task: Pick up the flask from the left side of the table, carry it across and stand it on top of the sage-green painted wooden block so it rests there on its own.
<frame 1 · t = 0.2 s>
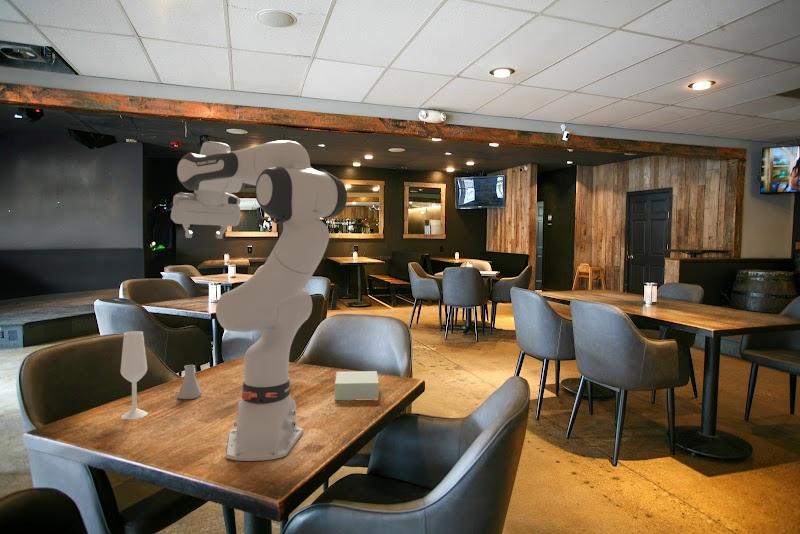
hand: (203, 237, 147), 51 cm above the table, tool tilted 20°, fingers open, 8 cm apart
sage block: (356, 394, 158), on the table
flask: (189, 397, 152), on the table
champagne flute: (134, 415, 135), on the table
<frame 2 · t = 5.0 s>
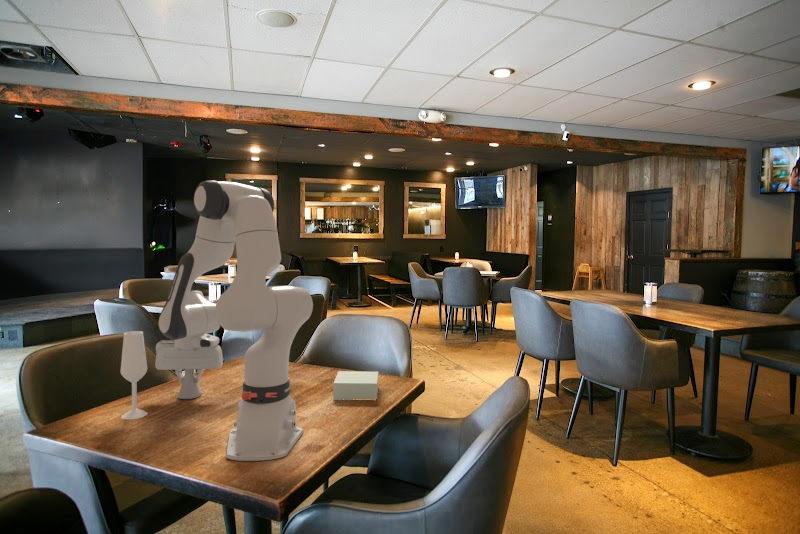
hand: (189, 382, 152), 5 cm above the table, tool pointing down, fingers closed on flask, 3 cm apart
flask: (189, 397, 152), on the table, touching gripper
everything else where it was.
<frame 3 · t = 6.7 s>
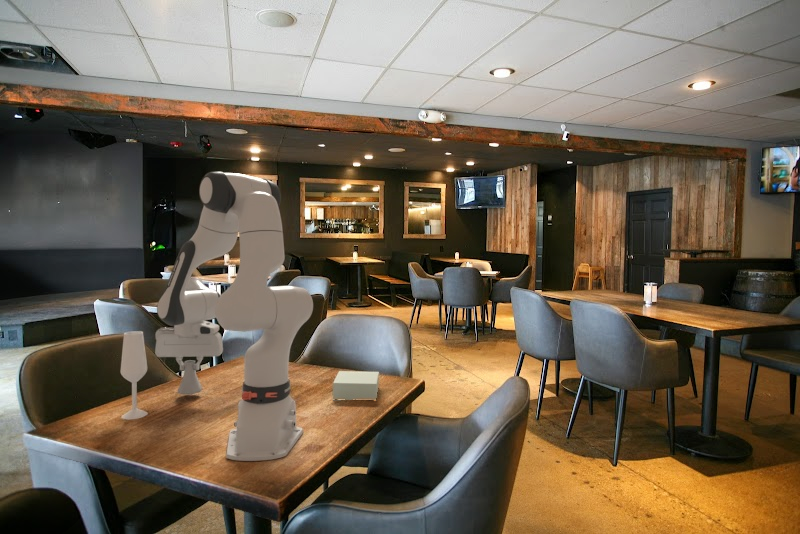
hand: (189, 369, 151), 9 cm above the table, tool pointing down, fingers closed on flask, 3 cm apart
flask: (189, 392, 152), point 1 cm above the table, touching gripper
everything else where it was.
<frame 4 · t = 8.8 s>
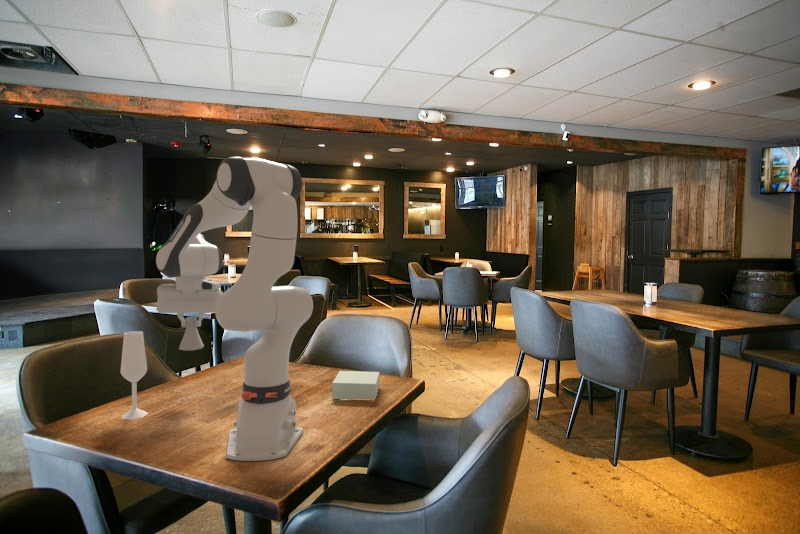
hand: (191, 326, 151), 23 cm above the table, tool pointing down, fingers closed on flask, 3 cm apart
flask: (191, 349, 151), point 15 cm above the table, touching gripper
everything else where it was.
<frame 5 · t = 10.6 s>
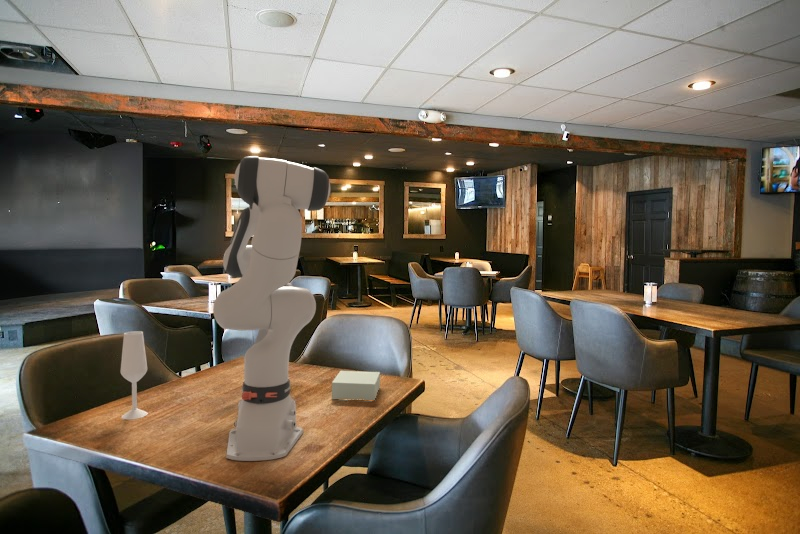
hand: (264, 326, 153), 23 cm above the table, tool pointing down, fingers closed on flask, 3 cm apart
flask: (264, 349, 153), point 15 cm above the table, touching gripper
everything else where it was.
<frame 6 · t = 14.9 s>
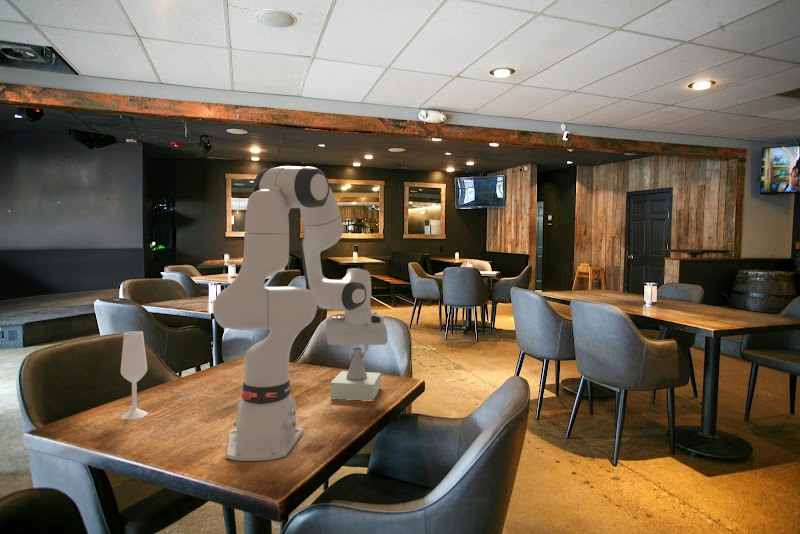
hand: (357, 357, 157), 12 cm above the table, tool pointing down, fingers closed on flask, 2 cm apart
sage block: (356, 395, 158), on the table, touching flask
flask: (356, 378, 157), point 5 cm above the table, touching gripper, sage block
everything else where it was.
when the fingers open (12 cm above the table, at t = 15.0 s): flask stays where it is, resting on sage block.
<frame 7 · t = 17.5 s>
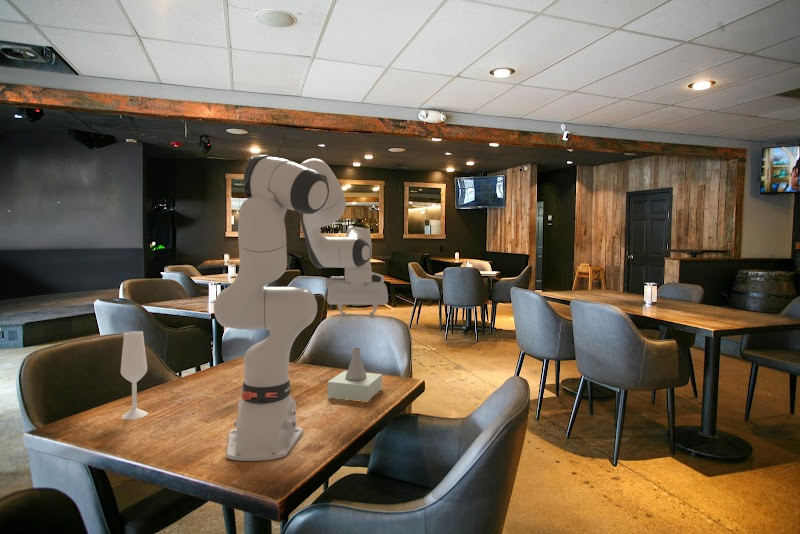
hand: (357, 317, 156), 26 cm above the table, tool pointing down, fingers open, 8 cm apart
flask: (355, 378, 157), point 5 cm above the table, touching sage block
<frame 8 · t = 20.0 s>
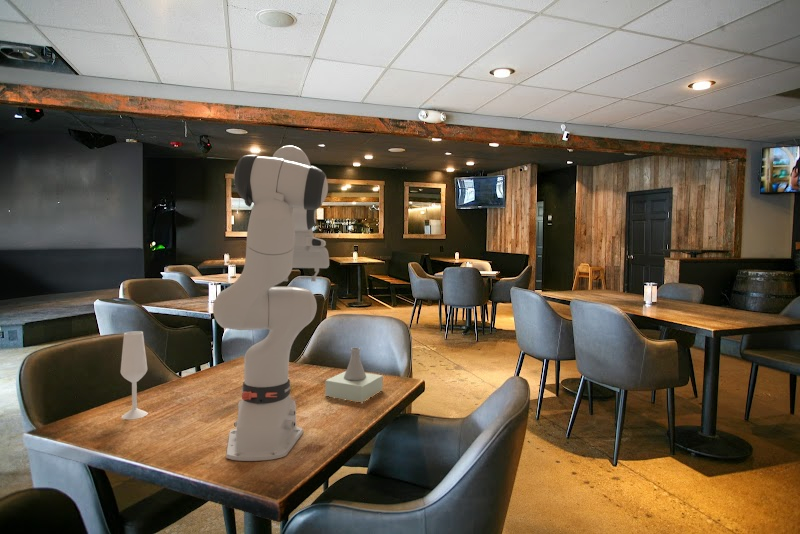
hand: (299, 281, 161), 37 cm above the table, tool pointing down, fingers open, 8 cm apart
at the end: flask inside the target area on the sage block (0.1 cm from its centre), point 5.8 cm above the sage block's base; flask tilted 0°; flask touching sage block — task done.
